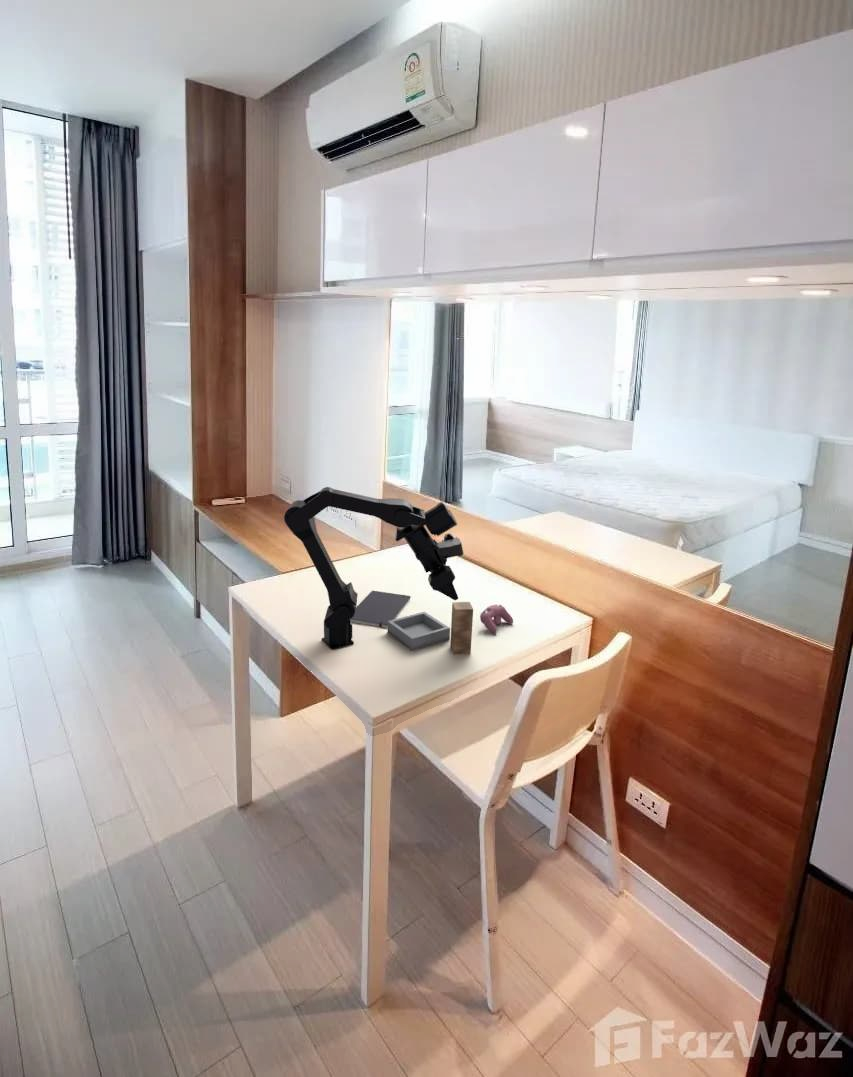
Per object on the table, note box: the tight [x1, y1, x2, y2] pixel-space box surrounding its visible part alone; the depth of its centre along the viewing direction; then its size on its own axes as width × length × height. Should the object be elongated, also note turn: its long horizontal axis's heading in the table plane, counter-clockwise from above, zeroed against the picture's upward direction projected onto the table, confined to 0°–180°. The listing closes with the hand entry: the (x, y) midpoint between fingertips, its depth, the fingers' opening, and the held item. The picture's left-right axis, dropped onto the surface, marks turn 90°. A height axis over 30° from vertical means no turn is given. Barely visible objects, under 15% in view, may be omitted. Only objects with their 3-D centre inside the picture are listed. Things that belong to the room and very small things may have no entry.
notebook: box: [350, 590, 412, 628], centre depth 190 cm, size 13×2×21 cm
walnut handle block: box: [449, 601, 474, 655], centre depth 166 cm, size 4×4×12 cm
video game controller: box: [479, 604, 514, 635], centre depth 181 cm, size 10×5×7 cm, turn 141°
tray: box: [387, 611, 451, 652], centre depth 174 cm, size 12×12×4 cm
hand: (453, 591), depth 167 cm, fingers open, 9 cm apart
